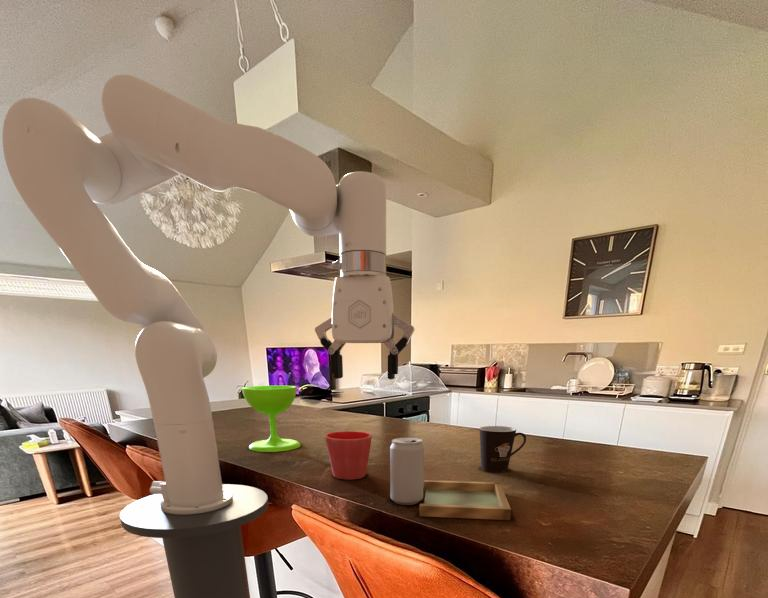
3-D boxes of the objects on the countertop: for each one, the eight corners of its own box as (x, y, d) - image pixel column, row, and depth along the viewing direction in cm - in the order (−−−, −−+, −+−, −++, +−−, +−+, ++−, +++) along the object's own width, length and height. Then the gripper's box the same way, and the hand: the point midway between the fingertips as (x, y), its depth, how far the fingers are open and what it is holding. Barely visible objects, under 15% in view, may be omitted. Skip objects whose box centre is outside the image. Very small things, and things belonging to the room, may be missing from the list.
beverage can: (406, 508, 78) (407, 444, 74) (383, 500, 82) (382, 439, 78) (429, 501, 82) (431, 439, 78) (406, 493, 86) (407, 435, 82)
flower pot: (381, 473, 102) (381, 433, 98) (353, 484, 93) (352, 440, 90) (346, 467, 107) (345, 429, 104) (317, 477, 98) (315, 436, 95)
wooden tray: (419, 516, 74) (419, 505, 74) (424, 489, 89) (424, 480, 89) (510, 520, 72) (511, 509, 71) (499, 491, 87) (500, 482, 87)
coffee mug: (476, 472, 101) (480, 431, 98) (476, 464, 109) (478, 425, 106) (527, 474, 100) (532, 432, 96) (522, 466, 107) (527, 426, 104)
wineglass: (302, 450, 128) (298, 388, 121) (247, 453, 124) (240, 389, 117) (298, 440, 142) (294, 385, 136) (249, 443, 138) (242, 386, 132)
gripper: (304, 266, 67) (310, 379, 73) (412, 262, 64) (409, 380, 70) (320, 274, 74) (325, 377, 80) (418, 271, 71) (415, 378, 76)
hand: (364, 378), depth 75 cm, fingers open, 9 cm apart
